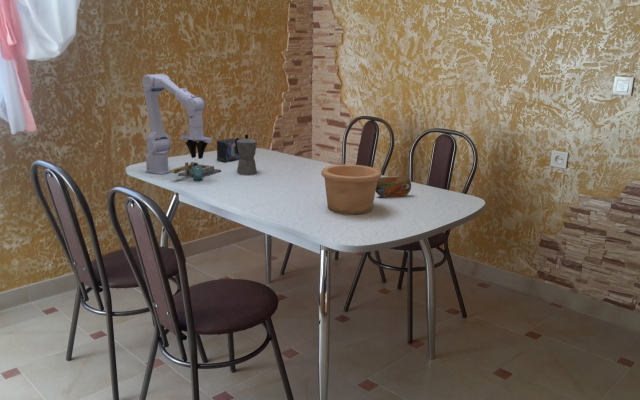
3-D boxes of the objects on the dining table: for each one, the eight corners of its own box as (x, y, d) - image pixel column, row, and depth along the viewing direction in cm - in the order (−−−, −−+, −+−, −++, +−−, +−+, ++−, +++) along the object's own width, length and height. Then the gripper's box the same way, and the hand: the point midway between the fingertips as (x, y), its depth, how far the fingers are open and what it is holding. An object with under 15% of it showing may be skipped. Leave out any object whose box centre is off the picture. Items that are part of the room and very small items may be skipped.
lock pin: (170, 173, 233) (170, 168, 233) (192, 167, 247) (192, 161, 246) (175, 174, 232) (175, 169, 232) (197, 167, 246) (197, 162, 245)
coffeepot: (263, 174, 252) (263, 135, 247) (247, 177, 246) (246, 137, 241) (244, 168, 263) (243, 131, 258) (227, 171, 256) (226, 133, 252)
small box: (225, 162, 274) (224, 142, 271) (216, 161, 277) (215, 140, 275) (240, 159, 282) (240, 139, 279) (231, 158, 286) (231, 138, 283)
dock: (178, 175, 246) (177, 161, 244) (199, 168, 260) (199, 155, 258) (200, 178, 241) (199, 164, 239) (220, 171, 255) (220, 158, 253)
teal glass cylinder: (191, 180, 237) (190, 167, 235) (197, 178, 241) (196, 165, 239) (199, 181, 235) (198, 168, 234) (204, 179, 239) (204, 166, 237)
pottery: (343, 197, 218) (345, 161, 214) (390, 208, 204) (392, 170, 200) (308, 208, 202) (309, 170, 198) (356, 221, 188) (358, 181, 184)
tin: (376, 198, 217) (377, 177, 215) (373, 196, 220) (374, 176, 218) (410, 196, 221) (412, 176, 219) (407, 194, 224) (409, 174, 222)
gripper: (176, 126, 231) (177, 157, 235) (204, 129, 225) (205, 161, 229) (186, 124, 237) (187, 155, 241) (214, 127, 231) (215, 158, 235)
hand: (197, 157), depth 235 cm, fingers open, 3 cm apart
